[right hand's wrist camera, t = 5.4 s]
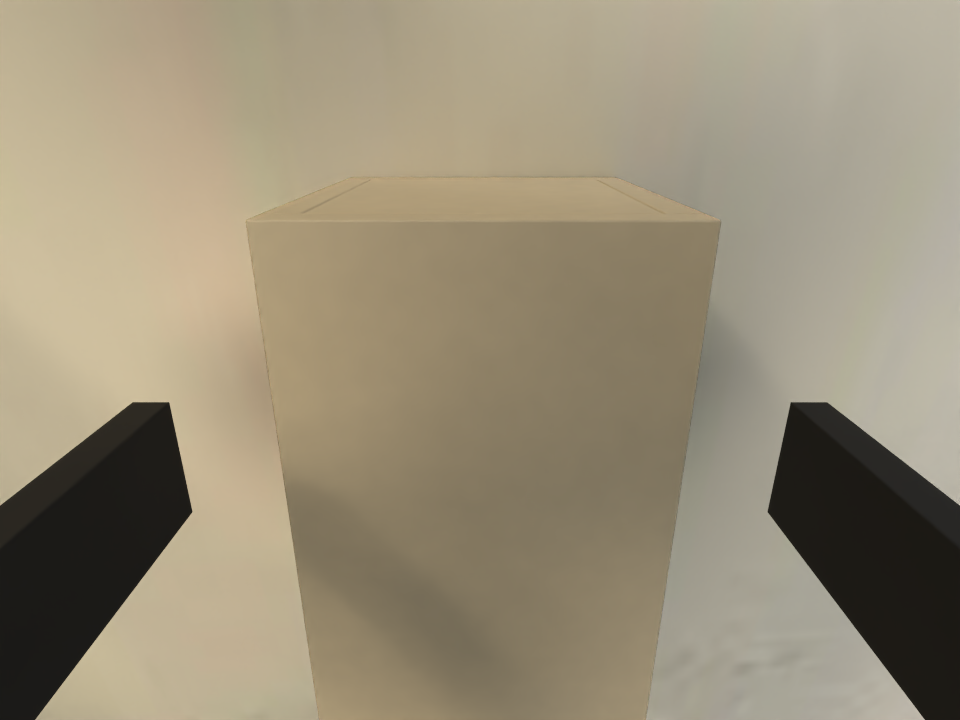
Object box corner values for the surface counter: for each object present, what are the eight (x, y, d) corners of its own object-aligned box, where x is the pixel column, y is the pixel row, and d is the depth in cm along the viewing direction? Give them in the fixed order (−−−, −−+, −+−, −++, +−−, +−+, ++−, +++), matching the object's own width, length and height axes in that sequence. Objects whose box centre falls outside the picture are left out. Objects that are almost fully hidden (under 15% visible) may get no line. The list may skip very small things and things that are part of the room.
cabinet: (587, 531, 28) (642, 747, 18) (377, 531, 28) (321, 745, 18) (617, 177, 22) (722, 220, 12) (349, 177, 22) (244, 219, 12)
